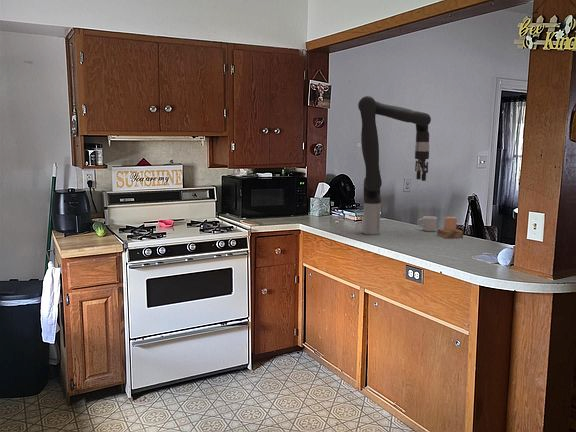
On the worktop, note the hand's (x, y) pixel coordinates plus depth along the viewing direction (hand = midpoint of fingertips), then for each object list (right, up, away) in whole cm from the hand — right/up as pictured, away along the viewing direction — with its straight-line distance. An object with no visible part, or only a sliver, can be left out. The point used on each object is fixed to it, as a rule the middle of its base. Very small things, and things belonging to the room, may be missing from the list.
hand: (421, 180), depth 296 cm
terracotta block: (+15, -27, -4) cm, 31 cm away
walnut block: (+15, -31, -3) cm, 35 cm away
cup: (+7, -28, +15) cm, 33 cm away
